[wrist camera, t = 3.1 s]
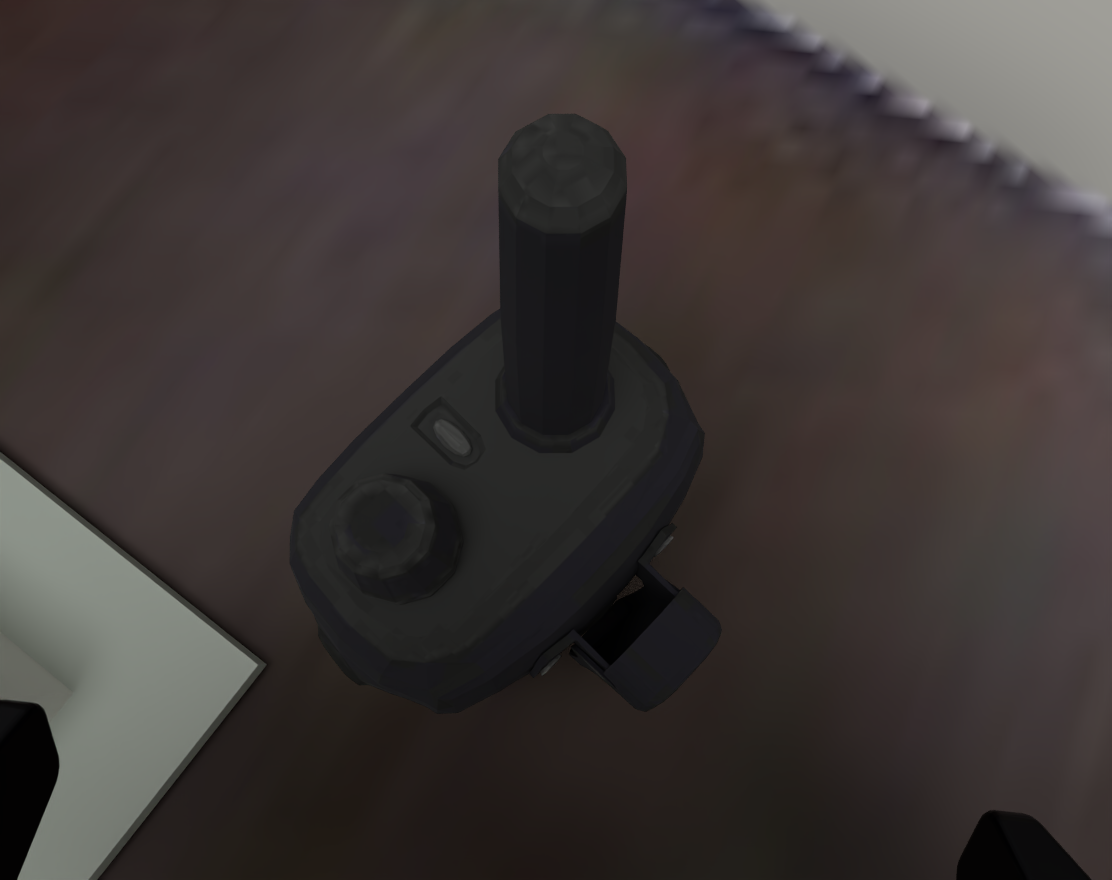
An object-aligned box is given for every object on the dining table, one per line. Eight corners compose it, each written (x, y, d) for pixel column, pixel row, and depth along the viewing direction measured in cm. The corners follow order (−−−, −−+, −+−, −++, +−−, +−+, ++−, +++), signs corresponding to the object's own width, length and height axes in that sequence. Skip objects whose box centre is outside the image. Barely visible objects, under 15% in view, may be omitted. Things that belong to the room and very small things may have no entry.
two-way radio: (558, 419, 20) (590, -180, 6) (713, 566, 20) (1192, 310, 5) (368, 608, 20) (-166, 465, 5) (524, 769, 19) (448, 1163, 4)
